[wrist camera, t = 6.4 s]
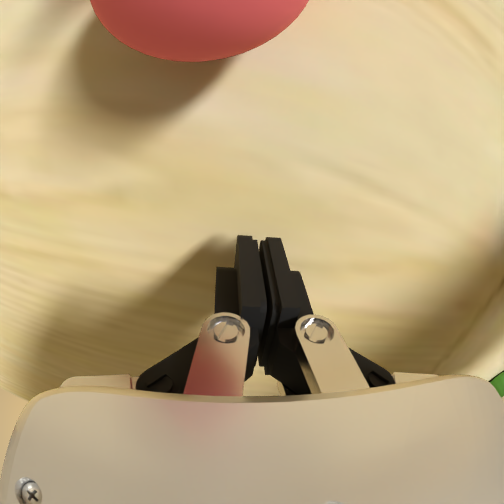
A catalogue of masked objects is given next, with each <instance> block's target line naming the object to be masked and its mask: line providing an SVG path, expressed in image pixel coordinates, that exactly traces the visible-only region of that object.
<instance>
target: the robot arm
mask: <svg viewBox="0 0 504 504" xmlns="http://www.w3.org/2000/svg"><path fill="white" fill-rule="evenodd" d="M257 356H258V361H259V366H264V370H265V375H271V376H272V377H274V378H275V379H277V380H278V381H277V386H278V390H279V393H280V396H242V395H243V387H244V382H245V381H246V380H247V379H248V378H250V377H251V376H252V374H253V370H254V366H255V365H256V361H257ZM0 504H504V402H503V400H502V398H501V397H500V395H499V394H498V392H497V391H496V389H495V388H494V387H493V385H492V384H491V383H489V382H488V381H487V380H484V379H482V378H479V377H476V376H470V375H443V376H439V375H435V374H418V373H402V372H394V373H393V374H392V375H391V374H390V373H389V372H388V371H387V370H385V369H384V368H382V367H380V366H379V365H377V364H375V363H374V362H372V361H370V360H368V359H367V358H365V357H363V356H362V355H360V354H358V353H357V352H355V351H353V350H352V349H350V348H348V346H347V344H346V343H345V341H344V339H343V337H342V335H341V334H340V332H339V330H338V328H337V327H336V325H335V324H334V323H333V322H332V321H330V320H329V319H327V318H325V317H323V316H319V315H314V314H313V311H312V308H311V305H310V302H309V299H308V295H307V292H306V289H305V286H304V283H303V280H302V277H301V274H300V272H299V271H290V268H289V265H288V261H287V258H286V254H285V251H284V247H283V244H282V241H281V238H272V237H266V240H265V241H263V240H261V242H260V247H259V249H258V243H257V240H252V236H242V235H238V236H237V245H236V255H235V265H234V268H226V267H217V271H216V290H215V313H214V315H211V316H209V317H208V318H207V319H206V320H205V321H204V323H203V325H202V328H201V332H200V335H199V337H198V338H197V339H195V340H194V341H192V342H191V343H189V344H188V345H186V346H184V347H183V348H181V349H180V350H178V351H177V352H175V353H173V354H172V355H170V356H169V357H167V358H165V359H164V360H162V361H161V362H159V363H157V364H156V365H154V366H153V367H151V368H149V369H148V370H146V371H145V372H144V373H142V374H141V375H140V376H138V377H131V376H130V374H122V375H102V376H75V377H70V378H68V379H67V380H65V381H64V382H63V383H62V384H61V386H60V388H55V389H51V390H48V391H45V392H42V393H40V394H38V395H36V396H34V397H33V398H32V399H31V400H30V401H29V402H28V404H27V405H26V406H25V407H24V409H23V411H22V413H21V415H20V416H19V419H18V421H17V423H16V425H15V428H14V430H13V433H12V436H11V439H10V442H9V446H8V449H7V453H6V456H5V460H4V464H3V469H2V474H1V480H0Z"/></svg>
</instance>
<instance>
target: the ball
mask: <svg viewBox="0 0 504 504" xmlns="http://www.w3.org/2000/svg"><path fill="white" fill-rule="evenodd" d="M308 1H309V0H90V2H91V4H92V7H93V9H94V11H95V14H96V15H97V17H98V18H99V20H100V22H101V23H102V24H103V26H104V27H105V28H106V29H107V30H108V31H109V32H110V33H111V34H112V35H113V36H114V37H116V38H117V39H118V40H119V41H121V42H122V43H124V44H126V45H127V46H129V47H130V48H132V49H135V50H137V51H139V52H142V53H144V54H146V55H150V56H153V57H156V58H161V59H166V60H172V61H184V62H201V61H210V60H218V59H223V58H227V57H231V56H235V55H238V54H241V53H244V52H247V51H249V50H251V49H254V48H256V47H258V46H260V45H262V44H264V43H266V42H267V41H269V40H271V39H272V38H274V37H276V36H277V35H278V34H279V33H281V32H282V31H283V30H284V29H286V28H287V27H288V26H289V25H290V24H291V23H292V22H293V21H294V20H295V19H296V18H297V17H298V16H299V14H300V13H301V12H302V10H303V9H304V8H305V6H306V4H307V3H308Z"/></svg>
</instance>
